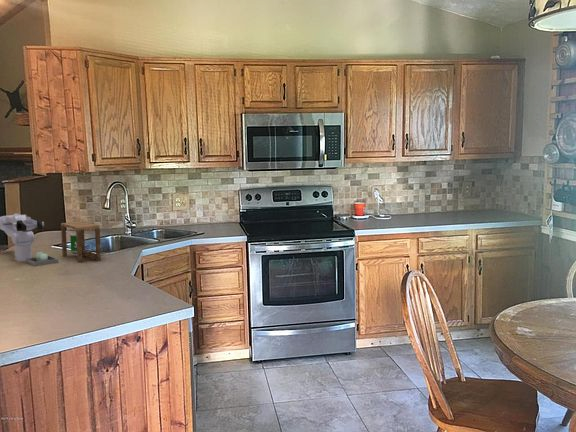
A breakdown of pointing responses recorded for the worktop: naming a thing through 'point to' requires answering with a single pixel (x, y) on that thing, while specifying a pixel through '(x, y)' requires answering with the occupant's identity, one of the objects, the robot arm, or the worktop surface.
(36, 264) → the tray
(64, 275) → the worktop surface
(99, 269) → the worktop surface
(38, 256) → the pale green rounded cylinder
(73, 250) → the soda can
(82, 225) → the small wooden stool
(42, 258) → the mint green capsule
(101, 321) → the worktop surface
